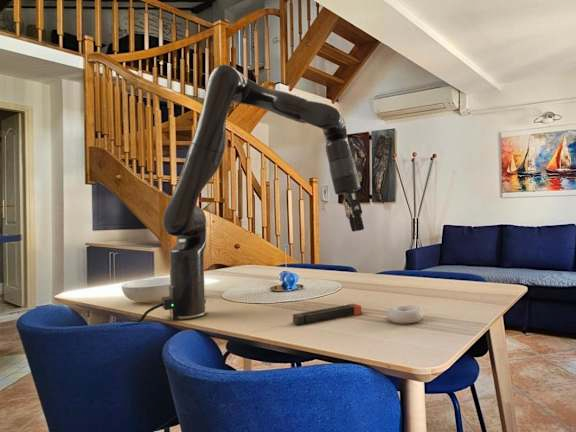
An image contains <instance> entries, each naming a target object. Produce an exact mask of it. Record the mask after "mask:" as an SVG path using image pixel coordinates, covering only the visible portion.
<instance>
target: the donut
mask: <svg viewBox="0 0 576 432" xmlns="http://www.w3.org/2000/svg"><path fill="white" fill-rule="evenodd" d="M423 316H424V312H423V310H422V309H421V308H420V307H419V306H416V305H412V304H411V305H409V304H401V305H395V306H392V307H389V309H387V311H386V318H387V319H388V321H389V322H391V323H394V324H401V325H407V324H414V323H418V322H419V321H421V320H422V319H423Z"/></svg>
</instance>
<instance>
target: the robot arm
mask: <svg viewBox="0 0 576 432" xmlns="http://www.w3.org/2000/svg"><path fill="white" fill-rule="evenodd" d="M232 103H234V104H240V105H245V106H246V105H247V106H252V107H256V108H260V109H263V110H265V111H268V112H271V113H273V114H275V115H278V116H281V117H284V118H286V119H289V120H292V121H295V122H297V123H300V124H308V125H311V126H313V127H316V128H319V129H321V130H322V132H323V136H324V139H325V143H326V144H325V154H326V156H327V161H328V166H329V173H330V177H331V181H332V186H333V189H334V193H335V195H337V196H339V195H343V198H342V204H343V206H344V211H345V217H346V218H347V219H348V222H349V225H350V230H351V232H353V233H354V232H360V231H363V230H364V229H365V227H364V222H363V217H362V216H363V215H362V214H363V210H362V206H361V202H360V198H359V193H358V192H357V191H359V190H361V188H362V187H361V183H360V177H359V173H358V170H357V167H356V163H355V161H354V158H353V154H352V149H351V146H350V143H349V138H348V130H347V125H346V122H345V118H344V116H343V114H342V113H341V112H340V110H339V109H338V108H337V107H336V106H334V105H330V104H327V103H324V102H320V101H314V100H310V99H308V98H305V97H302V96H300V95H297V94H294V93H290V92H287V91H282V90H276V89H273V88H269V87H265V86H263V85H260V84H258V83H256V82H254V81H253V80H251V79H249V78H247V77H246V76H245V75H244V74H243V73H241V72H240V71H239V70H237V69H236V68H234V67H233V66H231V65H228V64H221V65H220V64H219V65H217V66H215V68H214V69H213V70H212V71H211V73H210V75H209V77H208V80H207V84H206V89H205V94H204V99H203V103H202V108H201V111H200V113H199V117H198V120H197V122H196V127H195V129H194V132H193V136H192V138H191V141H190V144H189V146H188V150H187V152H186V156H185V160H184V162H183V166H182V169H181V171H180V174H179V177H178V180H177V183H176V186H175V188H174V190H173V193H172V195H171V197H170V198H169V201H168V203H167V205H166V207H165V210H164V213H163V216H162V226H163V229H164V231H165V233H167V234H168V235H169V236H172V237H177V239H176V240H177V241H176V243H175V245H174V246H173V247H172V248H171V249H170V250H169V256H168V257H169V277H170V285H169V296H168V297H162V302H160V303H159V304H156V305H154V306H152V307H150V308H148V309H147V310H145V312H144V313H143V314H142V316H141V317H140V318H139V319H137V320H135V321H134V320H133V322H139V323H141V322H142V321H143V320H144V319H145V318H146V317H147V315H148V314H149V313H151V312H153V311H155V310H156V309H158V308H161V307H162V309H163V310H164V311H169V317H170V319H172V320H173V321H177V320H191V319H197V318H200V317H203V316H205V315H206V303H207V301H206V294H205V292H206V290H205V261H204V260H205V259H204V257H205V256H204V255H205V254H204V253H205V250H206V247H207V218H206V217H207V216H206V213H205V212H204V210H203V209H202V208H201V207H200V206H198V205H197V202H198V199H199V197H200V195H201V193H202V191H203V189H204V188H205V187H206V186H207V184H209V182H210V181H211V180H212V178H213V177H214V176H215V175H216V173H217V171H218V170H219V168H220V165H221V163H222V160H223V156H224V153H225V150H226V145H227V143H226V142H227V133H226V131H227V130H226V126H227V125H226V123H227V117H228V113H229V110H230V108H231V106H232ZM123 322H124V321H120V322H119V323H123Z"/></svg>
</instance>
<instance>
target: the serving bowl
mask: <svg viewBox="0 0 576 432" xmlns="http://www.w3.org/2000/svg"><path fill="white" fill-rule="evenodd" d="M169 285H170V276H161V277H151V278H150V277H149V278H143V279H138V280H132V281H128V282H125V283H123V284H121V286H120V287H121V291H122V293H123V295H124V297H126V298H127V299H128V300H130V301H133V302H137V303H144V304H155V303H162V297H168V296H169Z"/></svg>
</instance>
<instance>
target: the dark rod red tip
mask: <svg viewBox="0 0 576 432" xmlns="http://www.w3.org/2000/svg"><path fill="white" fill-rule="evenodd" d="M361 314H362V305H361V304H356V303H353V302H352V303H348V304H344V305H339V306H333V307H328V308H322V309H316V310H310V311H305V312H299V313H294V314H292V323H293V324H294V325H295V326H298V327H299V326H304V325H309V324H314V323H319V322H324V321H330V320H334V319H340V318H345V317H351V316H358V315H361Z"/></svg>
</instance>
